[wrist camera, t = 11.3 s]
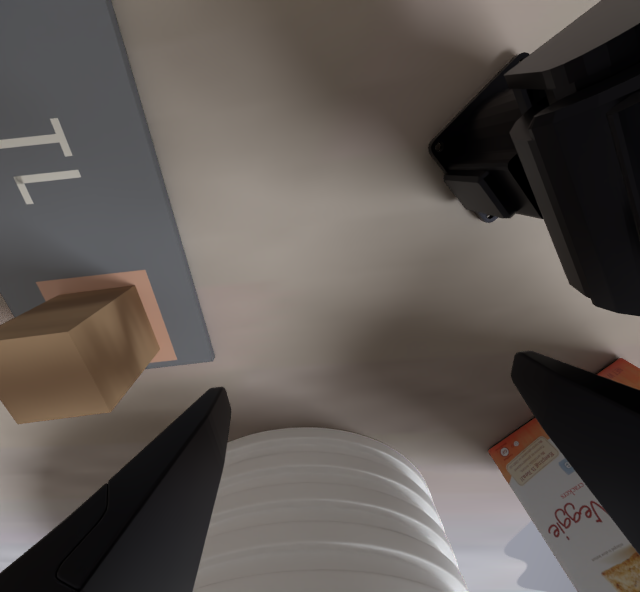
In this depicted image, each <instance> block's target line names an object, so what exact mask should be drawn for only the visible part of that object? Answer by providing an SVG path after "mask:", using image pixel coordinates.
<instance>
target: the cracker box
mask: <svg viewBox="0 0 640 592" xmlns="http://www.w3.org/2000/svg"><path fill="white" fill-rule="evenodd" d="M597 375H599V376H602V377H605V378H608V379H610V380H613V381H616V382H619V383H621V384H624V385H627V386H630V387H632V388H635V389H638V390H640V369H639V368H638V367H636V366H634V365H633V364H631V363H629V362H628V361H626V360H624V359H622V358H619V359H617V360H616V361H615V362H614V363H612V364H611V365H609V366H608V367H607V368H605V369H604V370H602V371H601V372H599V373H598V374H597ZM488 452H489V454H490V455H491V457H492V458H493V460H494V461H495V463H496V465H497V466H498V468H499V469H500V471H501V473H502V474H503V476H504V478H505V479H506V481H507V482H508V484H509V485H510V487H511V488H512V490H513V491H514V493H515V494H516V496H517V498H518V499H519V501H520V502H521V504H522V505H523V507H524V509H525V510H526V512H527V513H528V515H529V516H530V518H531V520H532V521H533V523H534V524H535V525H536V527H537V529H538V530H539V532H540V533H541V535H542V537H543V538H544V540H545V541H546V543H547V544H548V546H549V548H550V549H551V551H552V552H553V554H554V556H555V557H556V559H557V560H558V562H559V563H560V565H561V567H562V568H563V570H564V571H565V573H566V574H567V576H568V577H569V579H570V580H571V582H572V584H573V585H574V587H575V588H576V590H577V591H578V592H640V555H639V554H638V553H637V551H636V550H635V549H634V547H633V546H632V545H631V544H630V542H629V541H628V540H627V538H626V537H625V536H624V534H623V533H622V532H621V530H620V529H619V528H618V527H617V525H616V524H615V523H614V521H613V520H612V519H611V517H610V516H609V515H608V513H607V512H606V511H605V510H604V508H603V507H602V506H601V504H600V503H599V502H598V500H597V499H596V498H595V496H594V495H593V494H592V493H591V491H590V490H589V489H588V487H587V486H586V485H585V483H584V482H583V481H582V479H581V478H580V477H579V476H578V474H577V473H576V472H575V470H574V469H573V468H572V466H571V465H570V464H569V462H568V461H567V460H566V458H565V457H564V456H563V455H562V453H561V452H560V451H559V449H558V448H557V447H556V445H555V444H554V443H553V441H552V440H551V439H550V438H549V436H548V435H547V434H546V432H545V431H544V430H543V428H542V427H541V425H540V424H539V422H538V421H537V419H536V418H534V419H532V420H531V421H529V422H528V423H527V424H525V425H524V426H522V427H521V428H519V429H518V430H517V431H515V432H514V433H512V434H511V435H509V436H508V437H506V438H505V439H504V440H502V441H501V442H499V443H498V444H496V445H495V446H494V447H492V448H491V449H489V450H488Z"/></svg>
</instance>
